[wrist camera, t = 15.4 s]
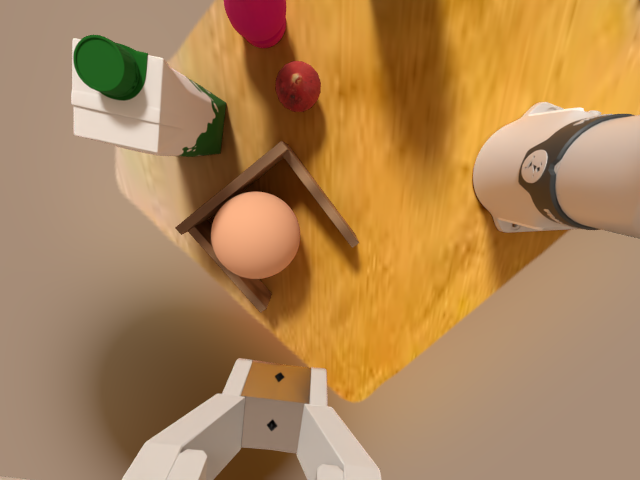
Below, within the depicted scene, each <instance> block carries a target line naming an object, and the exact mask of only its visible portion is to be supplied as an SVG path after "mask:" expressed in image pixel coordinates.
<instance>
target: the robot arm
mask: <svg viewBox="0 0 640 480" xmlns="http://www.w3.org/2000/svg"><path fill="white" fill-rule="evenodd" d="M473 184H474V189H475V192H476V195H477V197H478V199H479V201H480V202H481V204H482V205H483V206H484V207H485V208H486V209H487V210H488V211H489V212H490V213H491V215H492V216H493V220H494V223H495V225H496V227H497V229H498V230H499V231H501V232H506V233H511V232H529V231H548V230H567V229H586V230H605V231H609V232H614V233H618V234H622V235H626V236H630V237H634V238H638V239H640V115H636V116H635V115H632V114H614V115H612V114H605V115H601V112H599V111H588V112H585V111H584V109H583V108H571V109H563V108H560V107H558V106H555V105H553V104H550V103H548V102H541V103H537V104H535V105H533V106H532V107H531V108H530V109H529V110H528V111H527V112H526V113H525V114H524V115H523V116H522V117H521V118H520V119H518V120H516V121H514V122H512V123H510V124H508V125H506V126H504V127H502V128H501V129H499V130H498V131H497V132H495V133H494V134H493V135H492V136H491V137H490V138H489V139H488V140H487V141H486V143H485V144H484V145H483V147H482V149H481V150H480V152H479V154H478V156H477V159H476V162H475V165H474V171H473ZM512 224H515V225H514V226H512ZM241 447H246V448H258V449H270V450H277V451H283V452H290V453H297V457H298V459H299V461H300V464H301V466H302V468H303V471H304V473H305V475H306V478H307V480H382V479H381V474H380V469H379V468H378V467H377V465H376V464H375V463H374V461H373V460H372V459H371V458H370V456H369V455H368V454H367V452H366V451H365V450H364V448H363V447H362V446H361V445H360V443H359V442H358V441H357V439H356V438H355V437H354V435H353V434H352V433H351V431H350V430H349V429H348V427H347V426H346V425H345V424H344V422H343V421H342V420H341V418H340V417H339V416H338V414H337V413H336V412H335V410H334V409H333V408H332V407H328V404H327V370H326V369H324V368H313V367H311V368H309V367H300V366H291V365H283V364H277V363H270V362H263V361H256V360H248V359H241V358H239V359H238V360H237V361H236V363H235V365H234V367H233V370H232V372H231V374H230V377H229V379H228V381H227V383H226V386H225V388H224V390H223V393H222V394H216V395H215V396H213V397H212V398H210V399H209V400H207V401H206V402H204V403H203V404H201V405H200V406H198V407H197V408H195V409H194V410H192V411H191V412H190V413H188V414H187V415H185V416H184V417H183V418H181V419H179V420H178V421H176V422H175V423H173V424H172V425H170V426H169V427H167V428H166V429H164V430H163V431H161V432H160V433H159V434H157V435H156V436H154V437H153V438H151V439H150V440H148V441H147V442H145V444H144V445H143V447H142V449H141V450H140V452H139V453H138V455H137V457H136V458H135V460H134V461H133V463H132V464H131V466H130V467H129V469H128V471H127V472H126V474H125V475H124V477H123V478H122V480H213V479H214V478H215V477H216V476H217V474H219V473H220V471H221V470H222V469H223V468H224V467H225V466H226V465H227V464H228V463H229V461H230V460H231V459H232V458H233V457H234V456H235V455H236V454H237V453H238V451H239V450H240V449H241ZM0 480H31V479H22V478H13V477H3V476H0Z"/></svg>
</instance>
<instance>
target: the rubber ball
mask: <svg viewBox="0 0 640 480" xmlns="http://www.w3.org/2000/svg"><path fill="white" fill-rule="evenodd" d="M211 242H212V246H213V250H214V252H215V254H216V256H217V258H218V259H219V261H220V262H221V263H222V264H223V265H224V266H225V267H226V268H227V269H228V270H230V271H231V272H232V273H234V274H236V275H238V276H241V277H245V278H250V279H261V278H267V277H270V276H273V275H275V274H277V273H279V272H281V271H282V270H283V269H285V268H286V267H287V266H288V265H289V264H290V263H291V261H292V260H293V258H294V257H295V255H296V253H297V250H298V248H299V243H300V228H299V224H298V220H297V218H296V216H295V214H294V212H293V211H292V209H291V208H290V207H289V206H288V205H287V204H286V203H285V202H284V201H282V200H281V199H279V198H278V197H276V196H274V195H271V194H269V193H264V192H246V193H242V194H239V195H237V196H235V197H233V198H231V199H230V200H228V201H227V202H226V203H225V204H224V205H223V206H222V207H221V208H220V209H219V211H218V212H217V214H216V216H215V218H214V220H213V224H212V229H211Z"/></svg>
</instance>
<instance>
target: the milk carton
mask: <svg viewBox="0 0 640 480" xmlns="http://www.w3.org/2000/svg"><path fill="white" fill-rule="evenodd" d="M72 48H73V50H72V92H71V103H72V105H74V135H77V136H81V137H84V138H88V139H92V140H96V141H99V142H103V143H107V144H110V145H114V146H118V147H121V148H125V149H129V150H134V151H139V152H143V153H148V154H153V155H160V156H187V157H195V156H203V155H212V154H220V153H221V144H222V135H223V127H224V118H225V110H226V103H225V102H224V101H222V100H221V99H219V98H218V97H216V96H215V95H213V94H212V93H210V92H209V91H207V90H206V89H204V88H203V87H201V86H200V85H198V84H197V83H195V82H193V81H192V80H190V79H188V78H187V77H185V76H184V75H182V74H180V73H179V72H177V71H176V70H174V69H172V68H171V67H170V66H169V65H168V64H167V62H166V61H165V60H164V59H163V58H159V57H155V56H150V55H148V53H144V52H139V51H136V50H134V49H132V48H130V47H127V46H125V45H122V44H118V43H115V42H113V41H111V40H109V39H107V38H105V37H102V36H100V35H90V36H86V37H84V38H83V39H76V38H74V39H73V45H72Z"/></svg>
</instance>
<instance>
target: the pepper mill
mask: <svg viewBox="0 0 640 480" xmlns="http://www.w3.org/2000/svg"><path fill="white" fill-rule="evenodd" d="M224 6H225V10H226V13H227V16H228V18H229V20H230V22H231V24H232V26H233V27H234V29H235V30H236V31H237V32H238V33H239V34H240V35H242V36H243V37H245V39H246V40H247V41H248V42H249V43H250V44H252V45H254V46H256V47H259V48H269V47H272V46H274V45H275V44H277V43H278V42H279V41H280V39H281V38H282V36H283V34H284V32H285V28H286V17H285V15H286V0H224Z"/></svg>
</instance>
